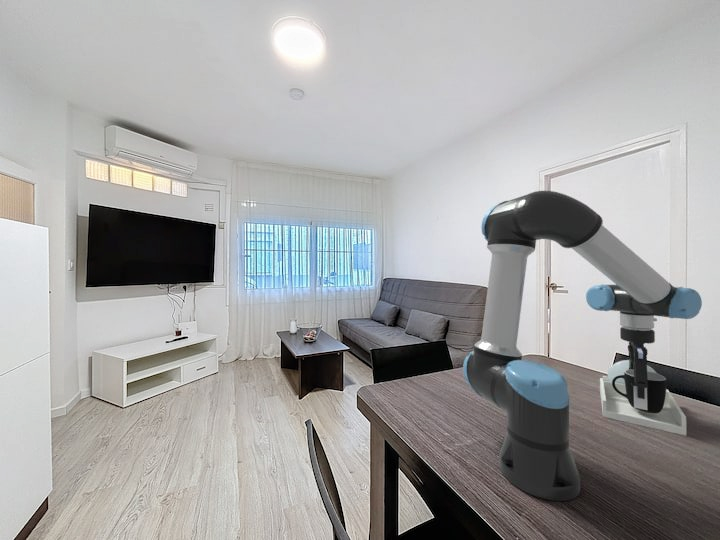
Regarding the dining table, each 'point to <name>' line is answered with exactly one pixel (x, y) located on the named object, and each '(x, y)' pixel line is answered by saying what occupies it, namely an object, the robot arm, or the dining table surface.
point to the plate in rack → (621, 371)
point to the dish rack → (623, 411)
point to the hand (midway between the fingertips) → (638, 402)
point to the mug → (654, 391)
